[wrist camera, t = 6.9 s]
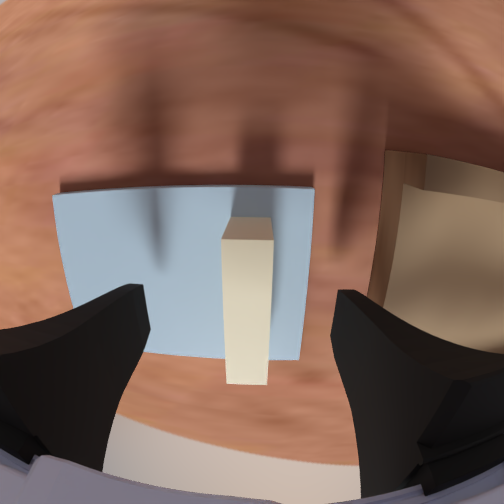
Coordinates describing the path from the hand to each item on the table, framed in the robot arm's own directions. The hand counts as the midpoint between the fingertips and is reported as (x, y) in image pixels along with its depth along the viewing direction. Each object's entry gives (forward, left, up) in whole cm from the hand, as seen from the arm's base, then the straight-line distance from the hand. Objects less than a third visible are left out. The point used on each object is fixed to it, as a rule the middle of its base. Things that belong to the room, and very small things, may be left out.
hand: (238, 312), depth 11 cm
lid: (0, +3, -4) cm, 5 cm away
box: (0, -13, -3) cm, 13 cm away
